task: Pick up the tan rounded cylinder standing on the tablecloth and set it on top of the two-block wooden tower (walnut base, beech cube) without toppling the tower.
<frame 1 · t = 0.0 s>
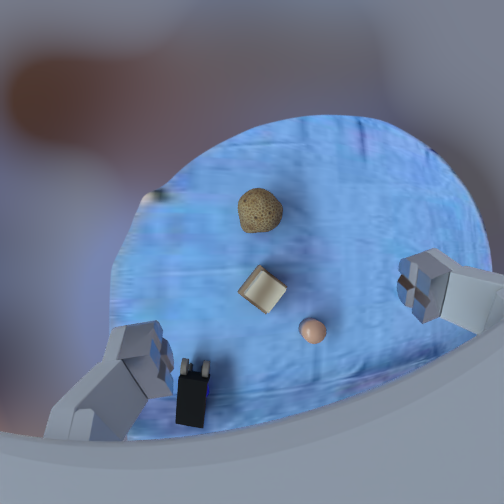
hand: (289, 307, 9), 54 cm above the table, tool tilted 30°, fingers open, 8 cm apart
toy car: (195, 385, 61), on the table
tan rounded cylinder: (309, 328, 64), on the table
tower base: (260, 288, 64), on the table, touching tower top
natural sponge: (257, 215, 64), on the table
tower top: (263, 290, 59), point 5 cm above the table, touching tower base
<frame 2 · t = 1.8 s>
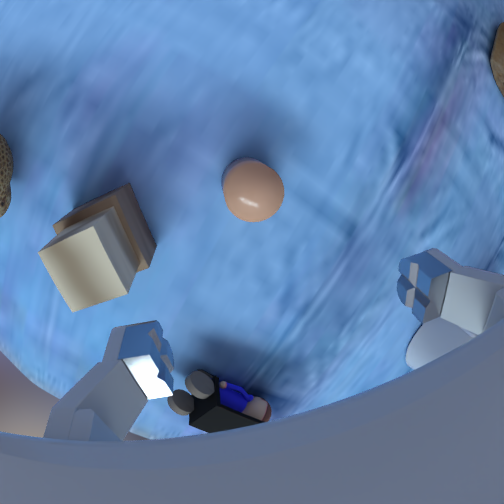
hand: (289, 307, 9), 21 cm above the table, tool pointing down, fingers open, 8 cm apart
toy car: (224, 388, 39), on the table
tan rounded cylinder: (246, 182, 28), on the table
tower base: (113, 227, 28), on the table
natural sponge: (5, 166, 22), on the table
stone cup: (501, 56, 24), on the table
tower top: (100, 246, 23), point 5 cm above the table
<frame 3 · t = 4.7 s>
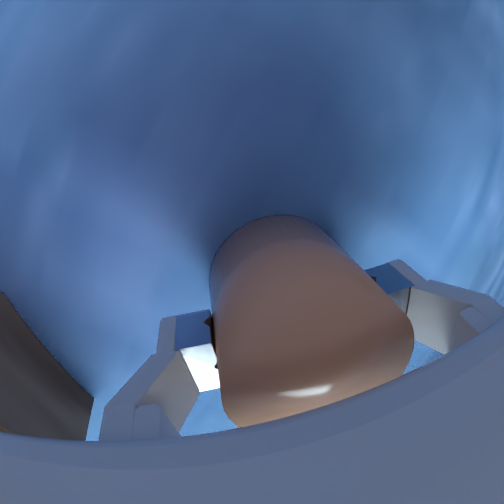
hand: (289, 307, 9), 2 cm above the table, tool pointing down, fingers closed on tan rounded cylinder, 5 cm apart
tan rounded cylinder: (276, 279, 11), on the table, touching gripper
tower base: (12, 363, 11), on the table, touching tower top
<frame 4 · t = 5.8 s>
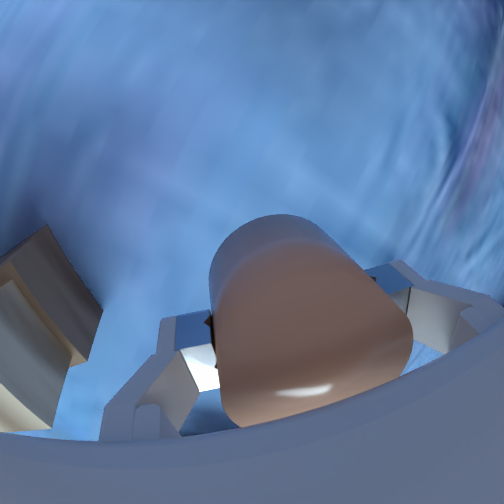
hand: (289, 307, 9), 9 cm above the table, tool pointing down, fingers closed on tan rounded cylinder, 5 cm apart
tan rounded cylinder: (276, 278, 11), point 7 cm above the table, touching gripper
tower base: (41, 287, 17), on the table, touching tower top
tower top: (15, 333, 12), point 5 cm above the table, touching tower base
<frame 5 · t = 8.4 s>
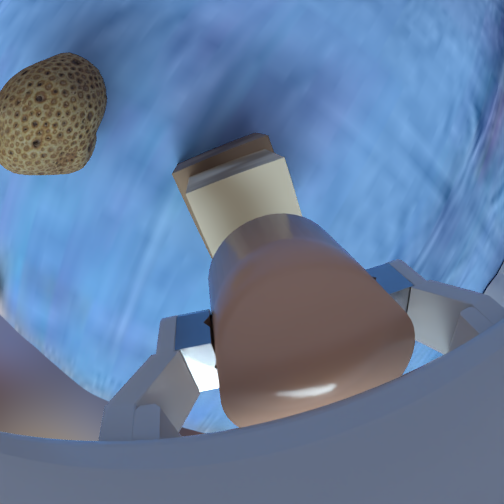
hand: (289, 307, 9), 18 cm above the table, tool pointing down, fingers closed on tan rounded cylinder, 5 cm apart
tan rounded cylinder: (276, 278, 11), point 16 cm above the table, touching gripper
tower base: (231, 184, 25), on the table, touching tower top
natural sponge: (76, 113, 20), on the table
tower top: (240, 198, 21), point 5 cm above the table, touching tower base
when the fingers open (12 cm above the table, at t = 10.4 s): tan rounded cylinder stays where it is, resting on tower top.
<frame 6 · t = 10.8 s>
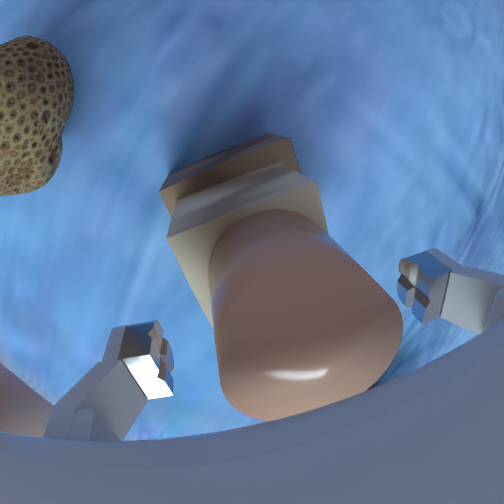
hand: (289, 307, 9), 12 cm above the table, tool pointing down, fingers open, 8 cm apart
tan rounded cylinder: (272, 271, 11), point 10 cm above the table, touching tower top
tower base: (237, 199, 20), on the table, touching tower top
natural sponge: (44, 112, 15), on the table
tower top: (245, 228, 16), point 5 cm above the table, touching tan rounded cylinder, tower base
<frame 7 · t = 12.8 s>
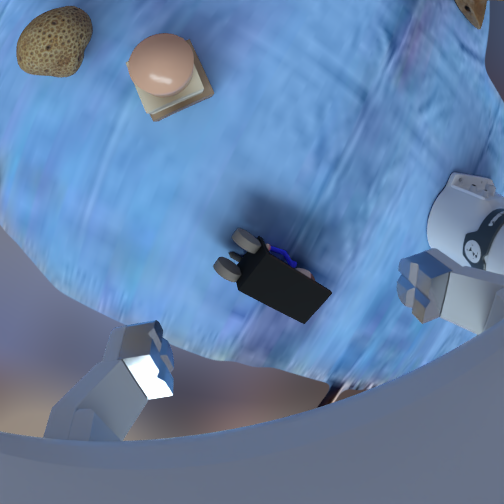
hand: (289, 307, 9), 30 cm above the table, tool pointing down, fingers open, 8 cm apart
toy car: (265, 261, 43), on the table
tan rounded cylinder: (166, 72, 21), point 10 cm above the table, touching tower top
tower base: (173, 84, 30), on the table, touching tower top
natural sponge: (71, 48, 25), on the table
tower top: (168, 81, 26), point 5 cm above the table, touching tan rounded cylinder, tower base
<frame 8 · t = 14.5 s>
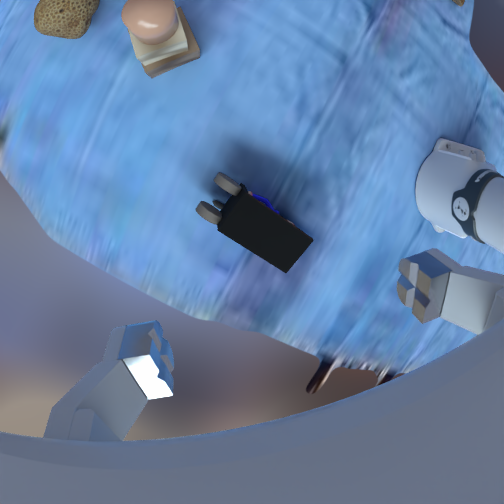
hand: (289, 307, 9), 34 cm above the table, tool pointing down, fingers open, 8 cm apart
toy car: (249, 212, 44), on the table
tan rounded cylinder: (156, 25, 22), point 10 cm above the table, touching tower top
tower base: (166, 47, 31), on the table, touching tower top
natural sponge: (80, 18, 26), on the table
tower top: (160, 39, 27), point 5 cm above the table, touching tan rounded cylinder, tower base
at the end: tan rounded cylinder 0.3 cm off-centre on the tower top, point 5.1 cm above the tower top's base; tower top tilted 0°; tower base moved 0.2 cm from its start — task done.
